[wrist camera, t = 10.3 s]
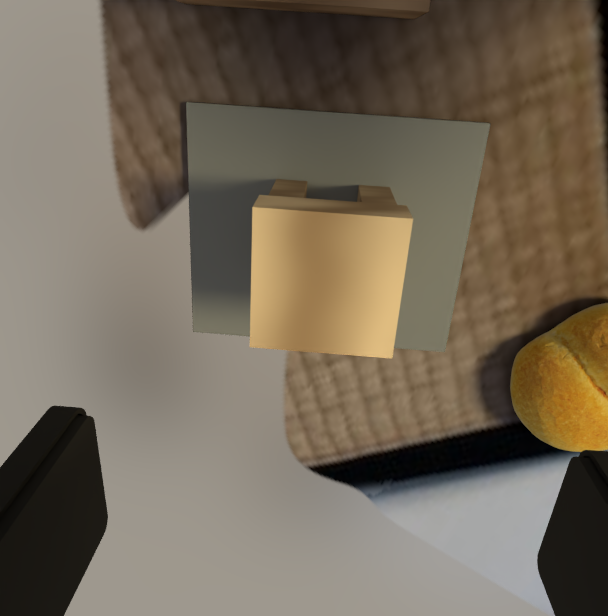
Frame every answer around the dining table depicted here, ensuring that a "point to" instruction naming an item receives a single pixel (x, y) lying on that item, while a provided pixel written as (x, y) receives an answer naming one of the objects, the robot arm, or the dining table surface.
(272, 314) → the stool
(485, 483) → the dining table surface
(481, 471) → the dining table surface
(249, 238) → the mat
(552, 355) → the bread roll
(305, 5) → the step
